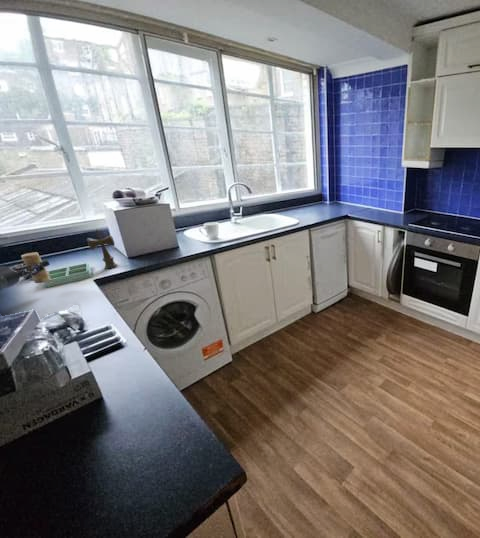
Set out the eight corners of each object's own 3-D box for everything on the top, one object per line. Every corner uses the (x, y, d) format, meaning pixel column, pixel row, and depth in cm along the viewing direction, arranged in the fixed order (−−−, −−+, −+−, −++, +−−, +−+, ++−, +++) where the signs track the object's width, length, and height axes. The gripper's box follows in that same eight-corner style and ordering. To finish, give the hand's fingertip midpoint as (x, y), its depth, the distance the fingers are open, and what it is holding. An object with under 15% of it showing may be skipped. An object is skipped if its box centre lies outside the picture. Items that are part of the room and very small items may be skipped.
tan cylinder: (34, 284, 120) (19, 257, 115) (35, 280, 124) (21, 254, 119) (50, 280, 123) (37, 254, 118) (51, 277, 126) (38, 251, 122)
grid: (46, 287, 131) (42, 281, 130) (49, 277, 142) (46, 271, 141) (90, 277, 140) (88, 271, 139) (90, 268, 151) (88, 262, 150)
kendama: (100, 267, 151) (83, 230, 143) (123, 263, 156) (108, 226, 148) (99, 271, 146) (82, 232, 138) (123, 266, 151) (108, 229, 143)
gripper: (-19, 290, 109) (29, 271, 125) (19, 289, 109) (62, 270, 124) (-30, 271, 106) (20, 254, 122) (9, 270, 106) (54, 253, 121)
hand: (41, 262), depth 123 cm, fingers closed on tan cylinder, 4 cm apart
